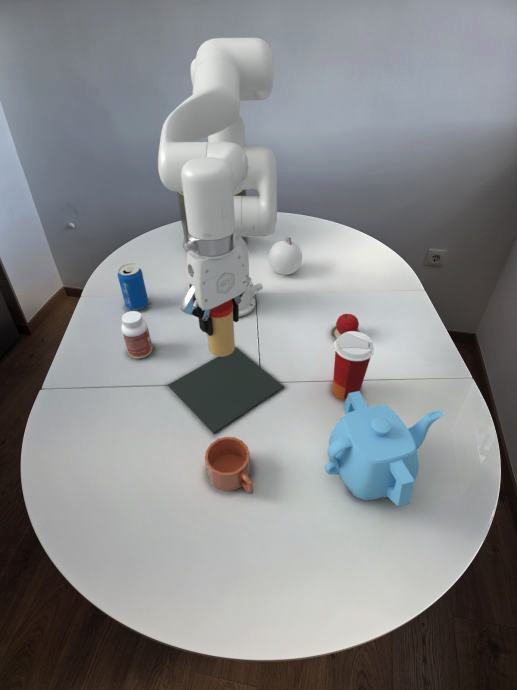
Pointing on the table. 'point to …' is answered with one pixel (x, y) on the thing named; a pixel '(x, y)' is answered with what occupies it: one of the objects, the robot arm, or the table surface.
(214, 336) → the jar
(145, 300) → the beverage can
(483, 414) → the table surface
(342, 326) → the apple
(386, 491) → the teapot
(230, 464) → the terracotta mug
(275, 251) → the ornament
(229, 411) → the mat
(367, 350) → the coffee cup
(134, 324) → the pill bottle
